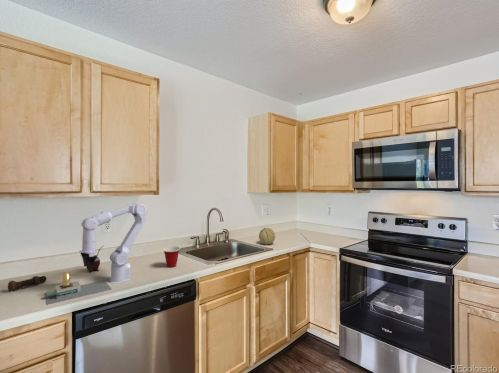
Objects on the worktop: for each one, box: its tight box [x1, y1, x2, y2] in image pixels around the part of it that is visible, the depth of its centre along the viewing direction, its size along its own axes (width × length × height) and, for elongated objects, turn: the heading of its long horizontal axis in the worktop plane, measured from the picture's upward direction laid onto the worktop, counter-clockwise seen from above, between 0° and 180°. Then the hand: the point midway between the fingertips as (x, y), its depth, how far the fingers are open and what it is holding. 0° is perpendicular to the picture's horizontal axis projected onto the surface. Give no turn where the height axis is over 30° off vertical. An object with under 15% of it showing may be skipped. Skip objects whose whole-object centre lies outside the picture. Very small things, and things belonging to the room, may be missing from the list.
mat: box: [44, 280, 112, 306], centre depth 128 cm, size 26×16×1 cm, turn 131°
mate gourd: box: [87, 244, 105, 273], centre depth 159 cm, size 8×8×15 cm
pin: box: [61, 271, 71, 289], centre depth 124 cm, size 3×3×10 cm
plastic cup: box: [162, 245, 181, 268], centre depth 168 cm, size 11×11×12 cm
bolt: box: [7, 275, 47, 293], centre depth 134 cm, size 6×5×15 cm
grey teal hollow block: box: [45, 280, 81, 299], centre depth 123 cm, size 13×8×4 cm, turn 131°
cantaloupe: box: [258, 227, 276, 245], centre depth 232 cm, size 15×15×15 cm
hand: (88, 267), depth 132 cm, fingers open, 7 cm apart
